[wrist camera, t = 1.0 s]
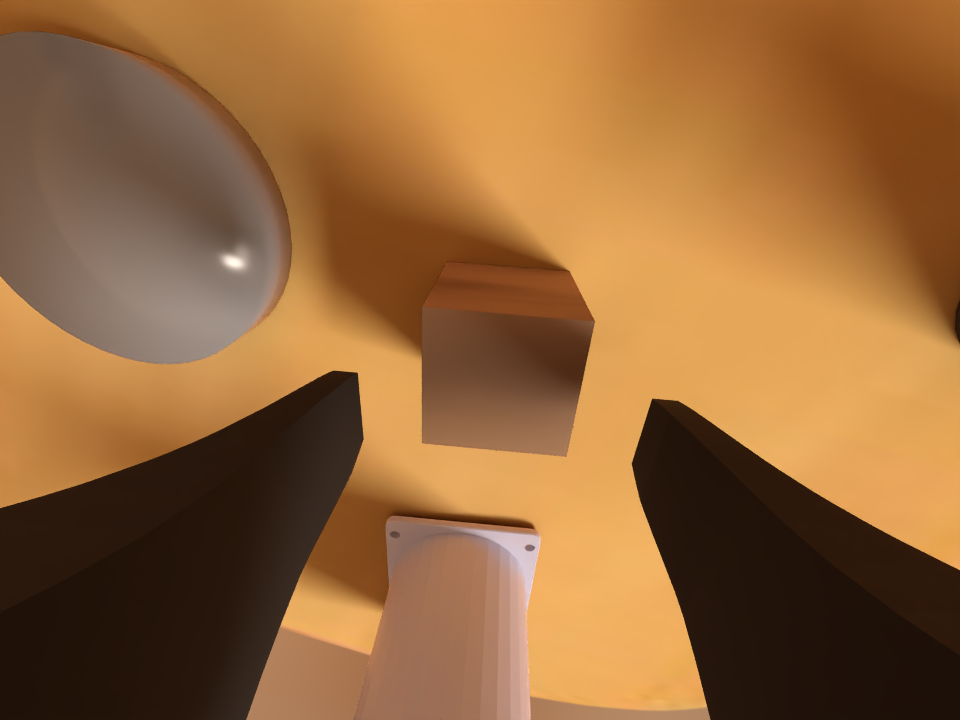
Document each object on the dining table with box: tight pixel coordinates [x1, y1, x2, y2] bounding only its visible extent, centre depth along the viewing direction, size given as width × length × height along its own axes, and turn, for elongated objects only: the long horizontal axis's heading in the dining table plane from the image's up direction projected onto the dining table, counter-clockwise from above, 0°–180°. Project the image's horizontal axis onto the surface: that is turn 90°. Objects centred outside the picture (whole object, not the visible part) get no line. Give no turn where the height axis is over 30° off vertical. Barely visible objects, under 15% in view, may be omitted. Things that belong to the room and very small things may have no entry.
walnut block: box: [422, 261, 595, 457], centre depth 14 cm, size 4×4×5 cm
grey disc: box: [0, 31, 292, 364], centre depth 14 cm, size 10×10×2 cm
